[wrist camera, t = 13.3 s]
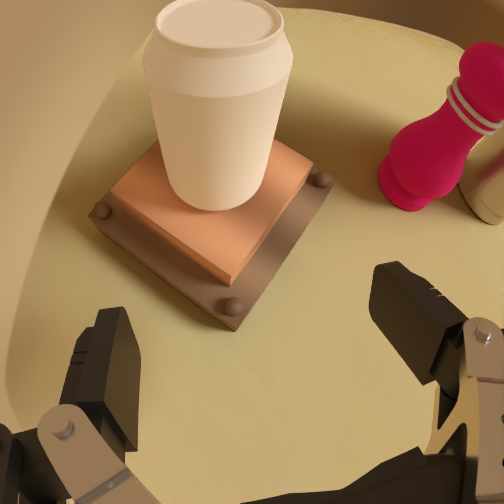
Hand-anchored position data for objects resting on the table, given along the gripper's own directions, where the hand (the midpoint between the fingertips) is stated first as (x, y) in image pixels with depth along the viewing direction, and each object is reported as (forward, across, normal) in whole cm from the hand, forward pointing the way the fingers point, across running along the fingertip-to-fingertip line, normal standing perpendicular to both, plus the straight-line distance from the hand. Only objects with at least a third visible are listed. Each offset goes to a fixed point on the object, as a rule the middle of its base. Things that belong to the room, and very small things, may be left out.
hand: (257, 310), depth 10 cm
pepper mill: (+18, -19, +2) cm, 27 cm away
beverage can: (+13, 0, -1) cm, 13 cm away
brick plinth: (+18, 0, +3) cm, 18 cm away
